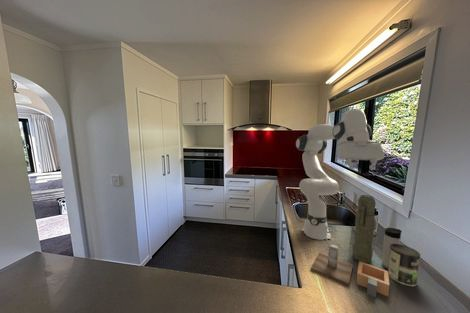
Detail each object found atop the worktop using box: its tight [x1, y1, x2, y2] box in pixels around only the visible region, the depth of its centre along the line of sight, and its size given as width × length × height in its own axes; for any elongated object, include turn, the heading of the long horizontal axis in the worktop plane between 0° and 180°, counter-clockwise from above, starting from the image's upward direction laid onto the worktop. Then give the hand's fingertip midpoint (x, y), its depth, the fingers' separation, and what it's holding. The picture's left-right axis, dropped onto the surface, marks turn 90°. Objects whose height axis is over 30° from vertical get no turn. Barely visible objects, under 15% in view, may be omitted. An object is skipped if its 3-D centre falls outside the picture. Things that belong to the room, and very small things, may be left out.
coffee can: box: [387, 243, 421, 287], centre depth 87 cm, size 10×10×14 cm
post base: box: [310, 244, 354, 287], centre depth 92 cm, size 16×16×12 cm
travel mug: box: [381, 227, 402, 270], centre depth 95 cm, size 6×7×20 cm
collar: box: [355, 261, 390, 298], centre depth 82 cm, size 15×11×5 cm
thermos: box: [352, 194, 377, 264], centre depth 101 cm, size 9×12×35 cm
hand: (362, 169), depth 85 cm, fingers open, 8 cm apart
